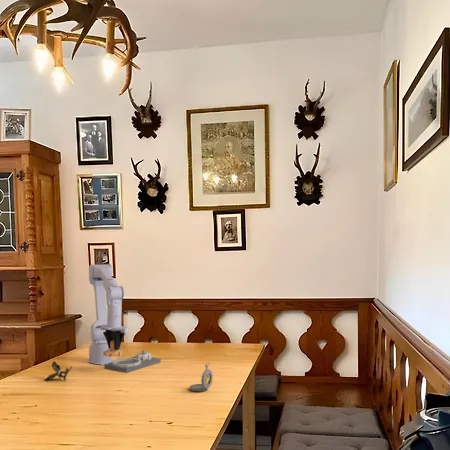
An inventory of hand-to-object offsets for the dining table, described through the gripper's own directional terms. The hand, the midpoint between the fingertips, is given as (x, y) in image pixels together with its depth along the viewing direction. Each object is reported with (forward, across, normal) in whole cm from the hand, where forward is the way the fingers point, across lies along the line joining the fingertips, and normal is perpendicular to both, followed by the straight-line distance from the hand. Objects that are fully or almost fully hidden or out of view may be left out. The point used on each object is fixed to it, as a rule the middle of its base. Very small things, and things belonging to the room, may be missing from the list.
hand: (114, 348), depth 190 cm
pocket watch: (+9, +45, 0) cm, 46 cm away
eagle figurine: (+10, -10, -20) cm, 24 cm away
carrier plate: (+9, -1, +12) cm, 16 cm away
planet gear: (+2, 0, 0) cm, 2 cm away
